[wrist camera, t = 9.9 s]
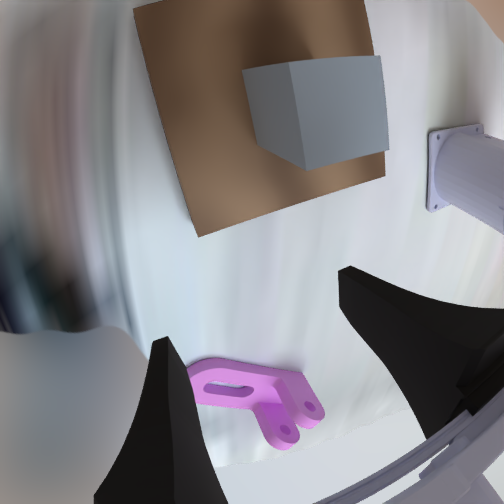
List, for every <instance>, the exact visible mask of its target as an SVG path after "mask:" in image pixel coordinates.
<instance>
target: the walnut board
mask: <svg viewBox="0 0 504 504" xmlns="http://www.w3.org/2000/svg"><path fill="white" fill-rule="evenodd" d="M133 12H134V19H135V23H136V27H137V31H138V35H139V39H140V43H141V47H142V51H143V55H144V59H145V63H146V67H147V71H148V74H149V78H150V82H151V86H152V89H153V93H154V97H155V100H156V104H157V107H158V111H159V115H160V118H161V122H162V125H163V129H164V132H165V135H166V139H167V142H168V146H169V149H170V152H171V156H172V159H173V162H174V165H175V169H176V172H177V175H178V178H179V182H180V185H181V188H182V191H183V194H184V198H185V201H186V204H187V207H188V210H189V213H190V216H191V219H192V222H193V225H194V228H195V230H196V233H197V235H198V237H201V236H204V235H207V234H210V233H213V232H216V231H218V230H221V229H224V228H227V227H230V226H233V225H236V224H239V223H242V222H244V221H247V220H250V219H253V218H256V217H259V216H262V215H265V214H268V213H271V212H274V211H277V210H280V209H283V208H286V207H289V206H292V205H295V204H298V203H301V202H304V201H307V200H311V199H314V198H317V197H320V196H323V195H326V194H329V193H332V192H336V191H339V190H342V189H345V188H348V187H351V186H355V185H358V184H361V183H364V182H368V181H371V180H374V179H377V178H381V177H384V176H385V154H384V151H382V152H378V153H374V154H370V155H366V156H362V157H358V158H354V159H350V160H346V161H342V162H338V163H334V164H331V165H327V166H323V167H320V168H316V169H312V170H309V171H305V170H304V169H302V168H300V167H298V166H296V165H295V164H293V163H291V162H289V161H287V160H285V159H283V158H281V157H280V156H278V155H276V154H274V153H272V152H270V151H268V150H266V149H264V148H262V147H260V146H258V145H257V140H256V135H255V130H254V125H253V121H252V116H251V111H250V106H249V102H248V97H247V92H246V88H245V83H244V79H243V74H242V70H244V69H250V68H255V67H261V66H266V65H273V64H279V63H286V62H294V61H302V60H311V59H322V58H334V57H350V56H374V50H373V44H372V38H371V33H370V28H369V23H368V18H367V13H366V8H365V4H364V0H163V1H159V2H155V3H152V4H148V5H144V6H141V7H137V8H134V9H133Z"/></svg>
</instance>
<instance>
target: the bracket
mask: <svg viewBox="0 0 504 504" xmlns="http://www.w3.org/2000/svg"><path fill="white" fill-rule="evenodd" d="M187 372H188V375H189V378H190V381H191V385H192V388H193V392H194V397H195V402H196V403H198V404H204V405H212V406H221V407H230V408H240V409H250V410H252V411H253V412H254V414H255V416H256V419H257V421H258V423H259V426H260V428H261V430H262V433H263V435H264V437H265V439H266V441H267V442H268V443H269V444H270V445H271V446H273V447H274V448H276V449H279V450H287V449H289V448H290V447H292V446H293V445H294V444H295V443H296V442H297V441H298V440H299V438H300V434H299V431H298V429H297V427H296V425H295V423H296V424H297V425H299V426H301V427H303V428H306V429H311V428H313V427H315V426H316V425H317V424H318V423H319V422H320V421H321V420H322V419H323V418H324V416H325V412H324V409H323V407H322V405H321V403H320V402H319V400H318V398H317V397H316V395H315V393H314V392H313V390H312V388H311V387H310V385H309V383H308V381H307V380H306V378H305V376H304V375H303V373H300V372H294V371H287V370H281V369H275V368H269V367H263V366H258V365H252V364H247V363H242V362H237V361H232V360H227V359H222V358H210V359H205V360H201V361H199V362H196V363H194V364H193V365H191V366H190V367H188V368H187ZM213 381H217V382H223V383H230V384H236V385H243V386H245V387H243V388H231V387H225V386H218V385H212V384H207V383H209V382H213ZM294 422H295V423H294Z"/></svg>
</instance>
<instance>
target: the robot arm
mask: <svg viewBox="0 0 504 504" xmlns="http://www.w3.org/2000/svg"><path fill="white" fill-rule="evenodd" d="M450 204H452V205H454V206H456V207H457V208H459V209H461V210H463V211H465V212H466V213H468V214H470V215H472V216H473V217H475V218H477V219H479V220H480V221H482V222H484V223H485V224H487V225H489V226H490V227H492V228H494V229H495V230H497V231H499V232H500V233H502V234H503V235H504V141H503V140H501V139H498V138H495V137H492V136H489V135H486V134H484V127H483V125H482V124H473V125H467V126H461V127H455V128H450V129H444V130H439V131H434V132H431V133H430V134H429V180H428V201H427V210H428V211H429V212H434V211H436V210H439V209H441V208H443V207H446V206H448V205H450ZM338 281H339V307H340V309H341V310H342V312H343V313H344V315H345V317H346V318H347V320H348V321H349V323H350V324H351V325H352V327H353V328H354V329H355V330H356V331H357V333H358V334H359V335H360V336H361V337H362V338H363V340H364V341H365V342H366V343H367V344H368V345H369V347H370V348H371V349H372V350H373V351H374V352H375V354H376V355H377V356H378V357H379V358H380V359H381V361H382V362H383V363H384V365H385V366H386V367H387V369H388V370H389V372H390V373H391V375H392V376H393V378H394V380H395V381H396V383H397V384H398V386H399V388H400V389H401V391H402V393H403V394H404V396H405V398H406V399H407V401H408V403H409V405H410V407H411V408H412V410H413V412H414V414H415V416H416V418H417V420H418V422H419V424H420V426H421V428H422V431H423V433H424V435H425V438H426V439H427V440H426V441H425V442H423V443H422V444H420V445H419V446H417V447H416V448H414V449H413V450H411V451H410V452H408V453H407V454H405V455H404V456H402V457H401V458H399V459H398V460H396V461H394V462H393V463H391V464H389V465H388V466H386V467H384V468H383V469H381V470H379V471H378V472H376V473H374V474H372V475H371V476H369V477H367V478H365V479H363V480H361V481H359V482H358V483H356V484H354V485H352V486H350V487H348V488H346V489H344V490H342V491H340V492H338V493H336V494H333V495H331V496H329V497H327V498H325V499H323V500H320V501H318V502H316V503H313V504H356V503H358V502H360V501H362V500H364V499H366V498H368V497H369V496H371V495H373V494H375V493H377V492H378V491H380V490H382V489H384V488H385V487H387V486H388V485H390V484H392V483H394V482H395V481H397V480H399V479H400V478H401V477H403V476H405V475H406V474H408V473H409V472H411V471H412V470H414V469H415V468H417V467H418V466H420V465H421V464H423V463H424V462H426V461H427V460H428V459H430V458H431V457H432V456H434V455H435V454H437V453H438V452H439V451H441V450H442V449H443V448H445V447H446V446H447V445H448V444H449V446H448V447H447V448H446V449H445V450H444V451H443V452H441V453H440V454H439V455H438V456H437V457H435V458H434V459H433V460H432V461H431V463H430V464H429V465H428V466H427V467H426V468H425V469H424V470H423V471H422V472H421V473H420V474H419V477H420V479H421V480H420V481H418V482H417V483H415V484H414V485H412V486H411V487H409V488H408V489H406V490H404V491H403V492H401V493H400V494H398V495H396V496H394V497H393V498H391V499H390V500H388V501H386V502H385V503H383V504H504V502H503V501H502V499H501V498H500V497H499V495H498V494H497V493H496V491H495V490H494V489H493V487H492V486H491V485H490V483H489V482H488V481H487V479H486V478H485V476H484V475H483V474H482V473H483V472H484V471H485V470H486V469H487V468H488V467H489V466H490V465H491V464H492V463H493V462H494V461H495V460H496V459H497V458H498V457H499V455H501V453H502V452H503V451H504V309H497V308H478V307H469V306H463V305H457V304H452V303H447V302H443V301H439V300H435V299H432V298H428V297H425V296H422V295H419V294H416V293H413V292H410V291H408V290H405V289H403V288H400V287H398V286H395V285H393V284H391V283H388V282H386V281H384V280H381V279H379V278H377V277H375V276H373V275H370V274H368V273H366V272H364V271H362V270H359V269H357V268H355V267H353V266H348V267H346V268H344V269H341V270H339V271H338ZM94 504H228V502H227V500H226V497H225V495H224V493H223V490H222V488H221V486H220V483H219V481H218V478H217V476H216V474H215V471H214V468H213V466H212V463H211V460H210V457H209V455H208V452H207V449H206V446H205V443H204V439H203V435H202V431H201V426H200V421H199V417H198V412H197V407H196V402H195V397H194V392H193V388H192V385H191V381H190V378H189V375H188V372H187V369H186V366H185V365H184V363H183V361H182V360H181V358H180V356H179V355H178V353H177V351H176V349H175V348H174V346H173V344H172V342H171V341H170V339H169V337H168V336H167V337H164V338H161V339H158V340H155V341H153V343H152V347H151V353H150V359H149V364H148V369H147V374H146V377H145V382H144V386H143V390H142V394H141V397H140V401H139V405H138V408H137V411H136V414H135V417H134V420H133V422H132V425H131V428H130V430H129V433H128V435H127V437H126V440H125V442H124V444H123V446H122V449H121V451H120V453H119V455H118V456H117V458H116V460H115V462H114V464H113V466H112V468H111V469H110V471H109V473H108V475H107V476H106V478H105V479H104V481H103V482H102V484H101V485H100V487H99V488H98V490H97V491H96V493H95V494H94Z"/></svg>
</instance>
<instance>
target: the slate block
mask: <svg viewBox="0 0 504 504" xmlns="http://www.w3.org/2000/svg"><path fill="white" fill-rule="evenodd" d="M242 74H243V79H244V83H245V88H246V92H247V97H248V102H249V106H250V111H251V116H252V121H253V125H254V130H255V135H256V140H257V145H258V146H260V147H262V148H264V149H266V150H268V151H270V152H272V153H274V154H276V155H278V156H280V157H281V158H283V159H285V160H287V161H289V162H291V163H293V164H295V165H296V166H298V167H300V168H302V169H304V170H305V171H309V170H312V169H316V168H320V167H323V166H327V165H331V164H334V163H338V162H342V161H346V160H350V159H354V158H358V157H362V156H366V155H370V154H374V153H378V152H382V151H386V150H389V135H388V120H387V108H386V98H385V88H384V80H383V72H382V64H381V57H380V56H350V57H334V58H322V59H311V60H302V61H294V62H286V63H279V64H273V65H266V66H261V67H255V68H250V69H244V70H242Z"/></svg>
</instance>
